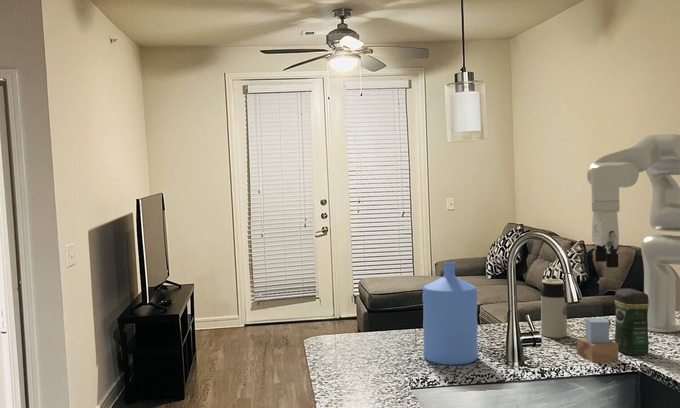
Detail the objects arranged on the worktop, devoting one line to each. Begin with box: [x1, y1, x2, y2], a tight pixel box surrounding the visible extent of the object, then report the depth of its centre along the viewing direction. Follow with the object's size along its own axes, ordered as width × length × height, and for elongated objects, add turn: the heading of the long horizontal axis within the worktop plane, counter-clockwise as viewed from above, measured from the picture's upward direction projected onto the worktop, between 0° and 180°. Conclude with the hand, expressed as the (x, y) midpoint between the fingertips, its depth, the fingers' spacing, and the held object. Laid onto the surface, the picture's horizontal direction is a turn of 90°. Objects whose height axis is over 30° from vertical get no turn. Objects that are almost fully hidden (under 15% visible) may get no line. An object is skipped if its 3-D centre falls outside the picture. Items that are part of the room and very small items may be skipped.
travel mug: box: [540, 278, 568, 339], centre depth 215 cm, size 8×8×18 cm
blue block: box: [585, 317, 610, 343], centre depth 190 cm, size 5×5×6 cm
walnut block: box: [576, 337, 619, 363], centre depth 190 cm, size 8×8×5 cm
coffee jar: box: [614, 287, 650, 356], centre depth 195 cm, size 10×8×19 cm
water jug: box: [422, 261, 479, 366], centre depth 191 cm, size 16×16×28 cm
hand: (606, 264), depth 194 cm, fingers open, 9 cm apart
